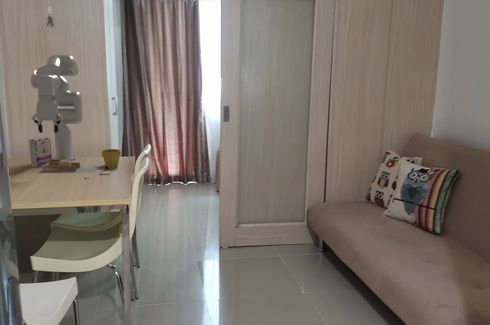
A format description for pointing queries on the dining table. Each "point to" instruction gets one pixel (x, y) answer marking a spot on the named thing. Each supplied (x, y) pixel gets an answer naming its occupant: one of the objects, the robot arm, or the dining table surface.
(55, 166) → the frame
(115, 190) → the dining table surface
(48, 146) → the candy bar box
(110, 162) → the plant pot
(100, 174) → the pad
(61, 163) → the cube
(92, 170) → the deck
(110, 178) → the dining table surface
